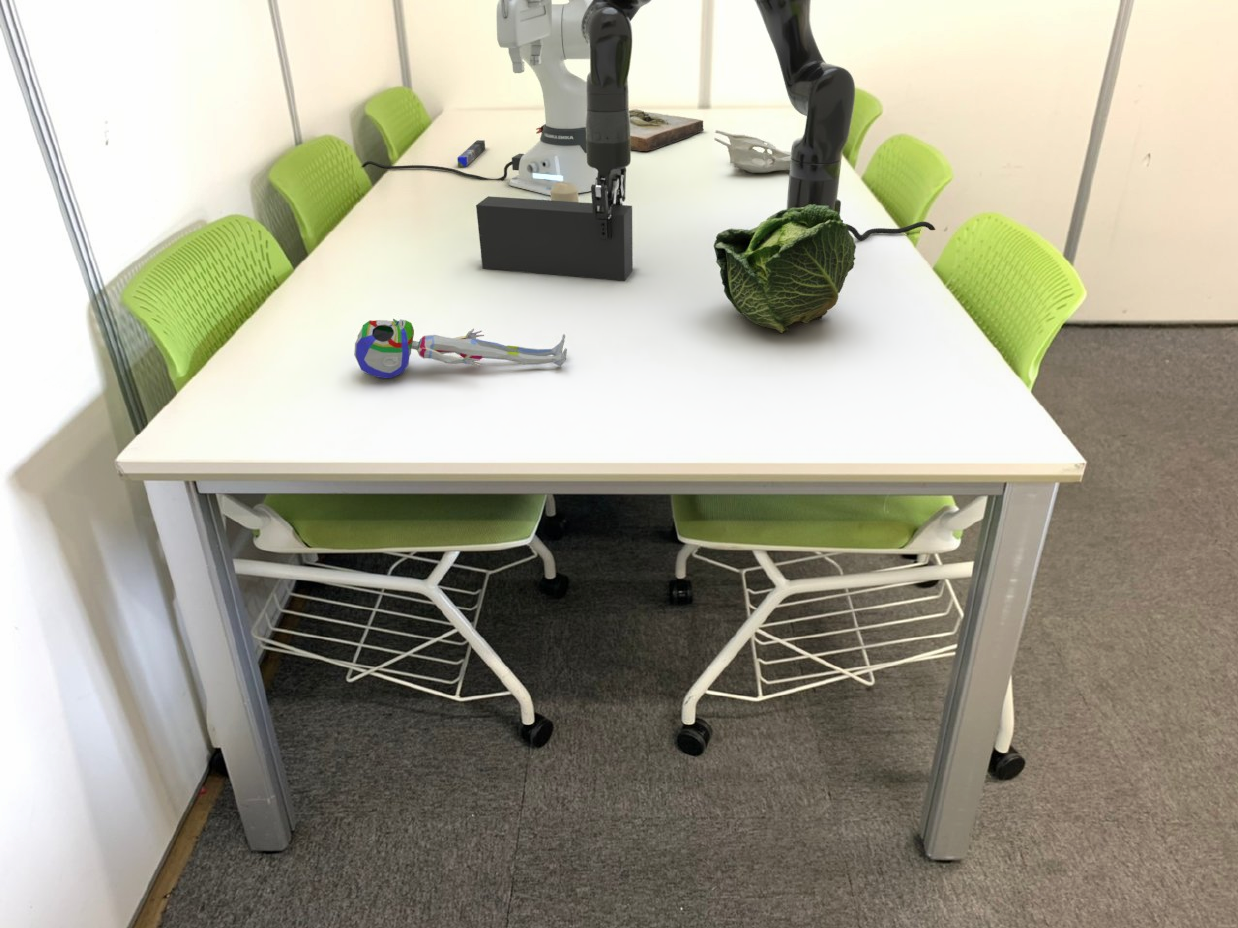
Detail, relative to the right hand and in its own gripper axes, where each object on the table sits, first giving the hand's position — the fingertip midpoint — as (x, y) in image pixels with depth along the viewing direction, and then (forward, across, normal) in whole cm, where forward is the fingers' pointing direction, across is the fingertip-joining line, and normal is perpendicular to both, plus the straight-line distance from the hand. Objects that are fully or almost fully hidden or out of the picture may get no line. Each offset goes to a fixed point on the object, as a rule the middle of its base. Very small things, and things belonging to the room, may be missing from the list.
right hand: (610, 233), depth 160 cm
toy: (+7, -43, +10) cm, 45 cm away
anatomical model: (+7, +79, -17) cm, 81 cm away
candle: (+7, +21, +16) cm, 27 cm away
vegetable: (+7, -15, -33) cm, 37 cm away
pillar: (+8, +76, +60) cm, 97 cm away
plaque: (+8, +110, +24) cm, 112 cm away
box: (+7, 0, +10) cm, 13 cm away
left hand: (-24, +18, +21) cm, 37 cm away
